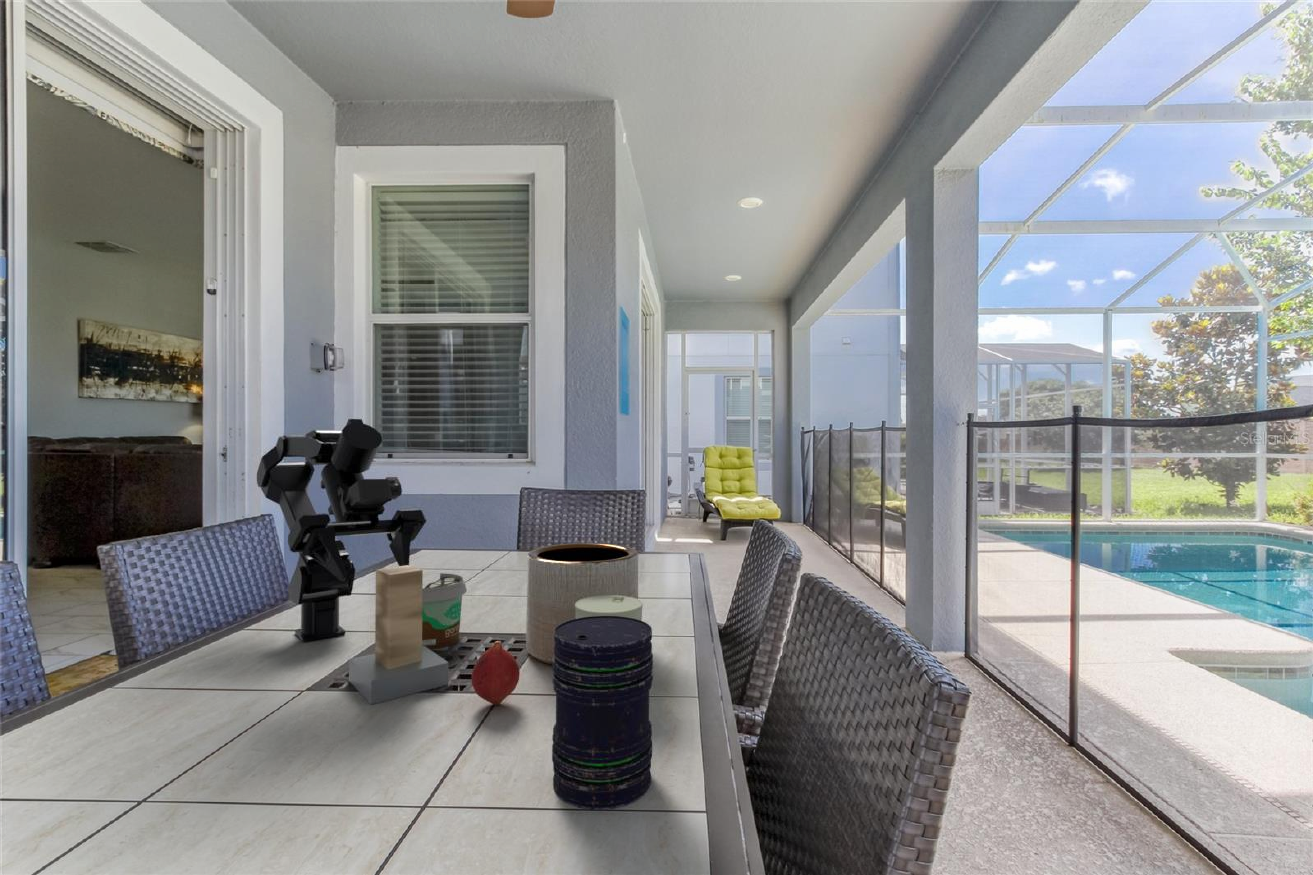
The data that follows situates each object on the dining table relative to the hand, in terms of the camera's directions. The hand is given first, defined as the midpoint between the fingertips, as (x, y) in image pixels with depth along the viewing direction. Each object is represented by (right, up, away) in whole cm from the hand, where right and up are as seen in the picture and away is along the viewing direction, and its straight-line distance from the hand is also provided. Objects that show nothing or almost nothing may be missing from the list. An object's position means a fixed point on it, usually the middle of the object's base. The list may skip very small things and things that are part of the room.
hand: (376, 575), depth 92 cm
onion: (+21, -14, -12) cm, 28 cm away
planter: (+29, -14, +8) cm, 33 cm away
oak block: (+6, -11, -6) cm, 13 cm away
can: (+34, -14, -7) cm, 38 cm away
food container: (+6, -14, +12) cm, 19 cm away
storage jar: (+36, -14, -30) cm, 48 cm away
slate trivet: (+6, -14, -5) cm, 16 cm away
